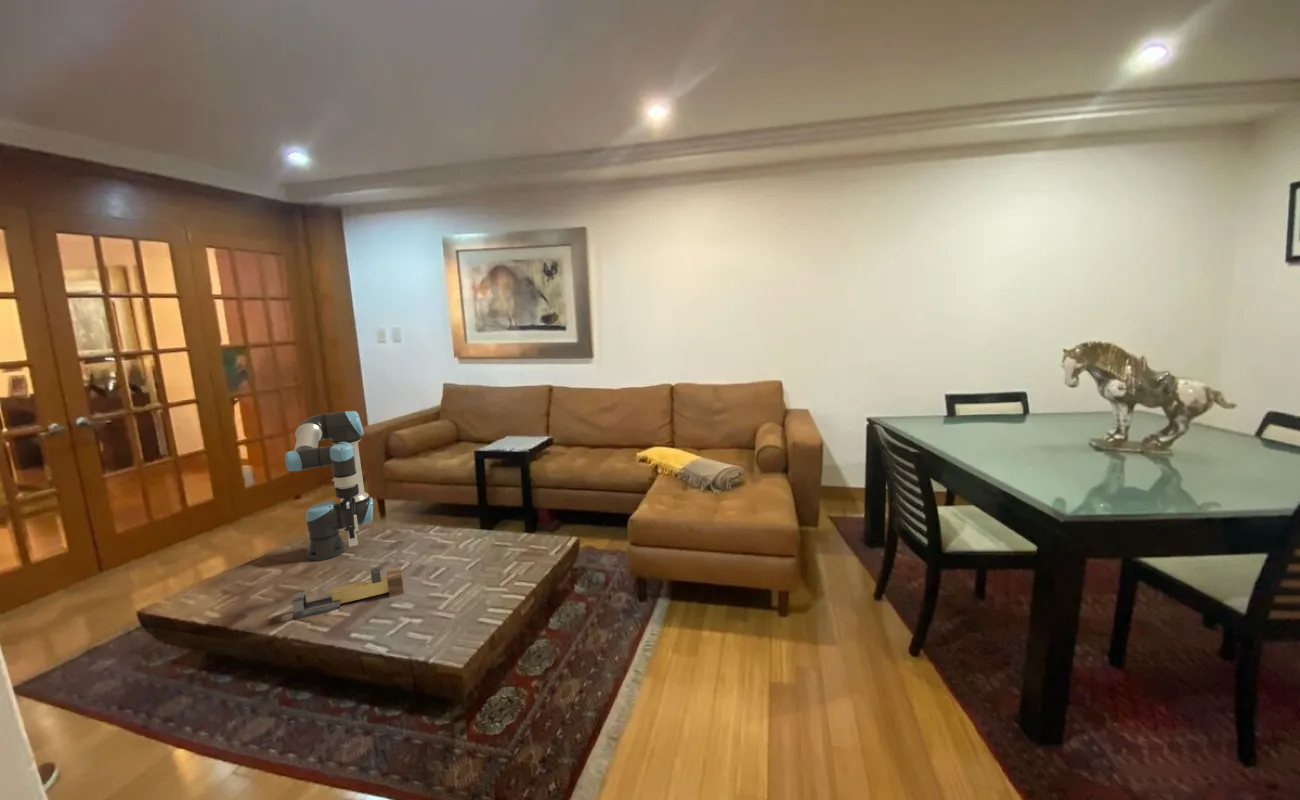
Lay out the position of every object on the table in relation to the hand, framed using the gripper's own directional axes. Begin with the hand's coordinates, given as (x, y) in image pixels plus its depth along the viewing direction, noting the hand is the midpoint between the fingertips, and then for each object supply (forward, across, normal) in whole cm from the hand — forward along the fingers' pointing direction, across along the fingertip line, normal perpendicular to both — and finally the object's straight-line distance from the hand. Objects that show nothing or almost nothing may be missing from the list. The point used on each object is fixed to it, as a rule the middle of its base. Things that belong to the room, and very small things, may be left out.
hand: (354, 538), depth 200 cm
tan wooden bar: (+22, +5, +2) cm, 23 cm away
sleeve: (+23, +4, -14) cm, 28 cm away
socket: (+23, +5, +12) cm, 27 cm away
